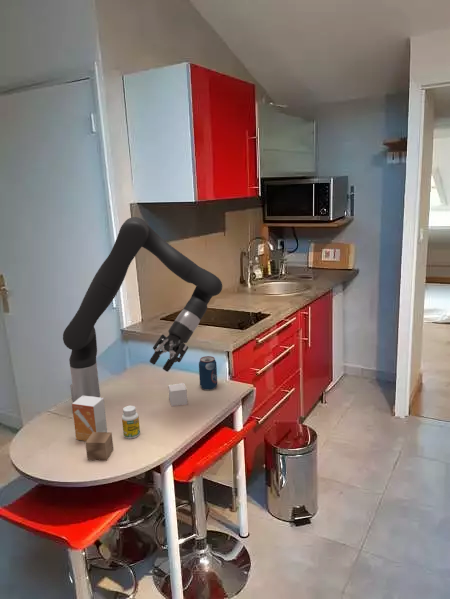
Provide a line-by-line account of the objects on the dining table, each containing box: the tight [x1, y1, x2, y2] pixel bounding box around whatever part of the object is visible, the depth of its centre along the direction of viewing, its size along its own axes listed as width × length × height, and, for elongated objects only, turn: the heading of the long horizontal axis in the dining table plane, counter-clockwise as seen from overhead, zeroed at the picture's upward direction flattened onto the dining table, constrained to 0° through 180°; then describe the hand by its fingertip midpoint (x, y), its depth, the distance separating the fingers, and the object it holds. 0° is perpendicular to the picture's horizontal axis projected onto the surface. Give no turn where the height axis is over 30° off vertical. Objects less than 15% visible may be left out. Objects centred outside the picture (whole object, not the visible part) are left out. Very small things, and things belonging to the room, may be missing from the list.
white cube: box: [168, 382, 188, 407], centre depth 178 cm, size 6×6×6 cm
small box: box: [71, 396, 108, 442], centre depth 155 cm, size 8×6×13 cm
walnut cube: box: [84, 431, 114, 462], centre depth 146 cm, size 6×6×6 cm
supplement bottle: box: [121, 405, 141, 440], centre depth 156 cm, size 5×5×10 cm
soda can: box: [198, 355, 218, 391], centre depth 189 cm, size 7×7×12 cm
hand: (158, 366), depth 159 cm, fingers open, 8 cm apart
